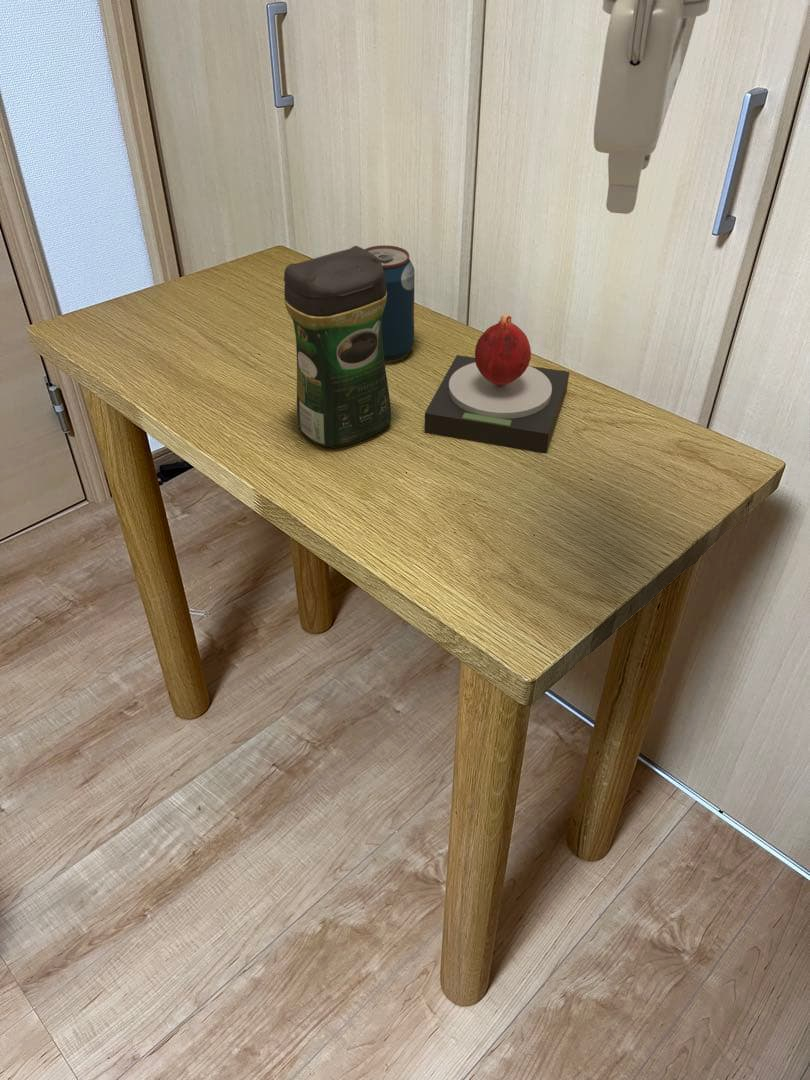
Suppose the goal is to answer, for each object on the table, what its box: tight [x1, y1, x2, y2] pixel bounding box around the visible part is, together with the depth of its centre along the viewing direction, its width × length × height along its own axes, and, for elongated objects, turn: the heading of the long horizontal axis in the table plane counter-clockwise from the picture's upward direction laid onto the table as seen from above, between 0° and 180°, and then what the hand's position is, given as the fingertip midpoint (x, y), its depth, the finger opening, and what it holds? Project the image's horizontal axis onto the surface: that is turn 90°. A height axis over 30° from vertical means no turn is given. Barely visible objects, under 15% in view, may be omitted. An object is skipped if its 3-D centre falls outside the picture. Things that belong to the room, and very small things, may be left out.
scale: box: [424, 354, 570, 454], centre depth 92 cm, size 13×13×3 cm
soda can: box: [364, 244, 415, 364], centre depth 99 cm, size 7×7×12 cm
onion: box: [474, 313, 532, 386], centre depth 88 cm, size 6×6×8 cm
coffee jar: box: [283, 245, 392, 449], centre depth 84 cm, size 10×8×19 cm
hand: (628, 187), depth 59 cm, fingers open, 8 cm apart
